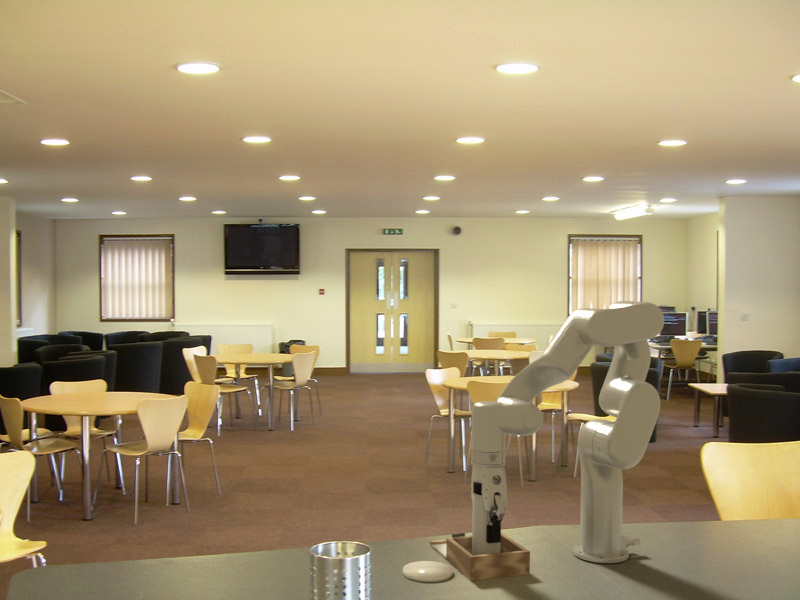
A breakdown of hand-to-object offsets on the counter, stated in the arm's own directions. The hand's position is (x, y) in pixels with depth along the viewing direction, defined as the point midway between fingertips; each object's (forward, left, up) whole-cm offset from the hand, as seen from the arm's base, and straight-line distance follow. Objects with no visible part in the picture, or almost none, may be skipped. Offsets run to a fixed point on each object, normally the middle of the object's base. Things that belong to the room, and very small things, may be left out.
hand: (486, 537), depth 184 cm
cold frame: (0, -5, -7) cm, 9 cm away
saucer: (+14, 0, -7) cm, 15 cm away
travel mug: (0, 0, -7) cm, 7 cm away
